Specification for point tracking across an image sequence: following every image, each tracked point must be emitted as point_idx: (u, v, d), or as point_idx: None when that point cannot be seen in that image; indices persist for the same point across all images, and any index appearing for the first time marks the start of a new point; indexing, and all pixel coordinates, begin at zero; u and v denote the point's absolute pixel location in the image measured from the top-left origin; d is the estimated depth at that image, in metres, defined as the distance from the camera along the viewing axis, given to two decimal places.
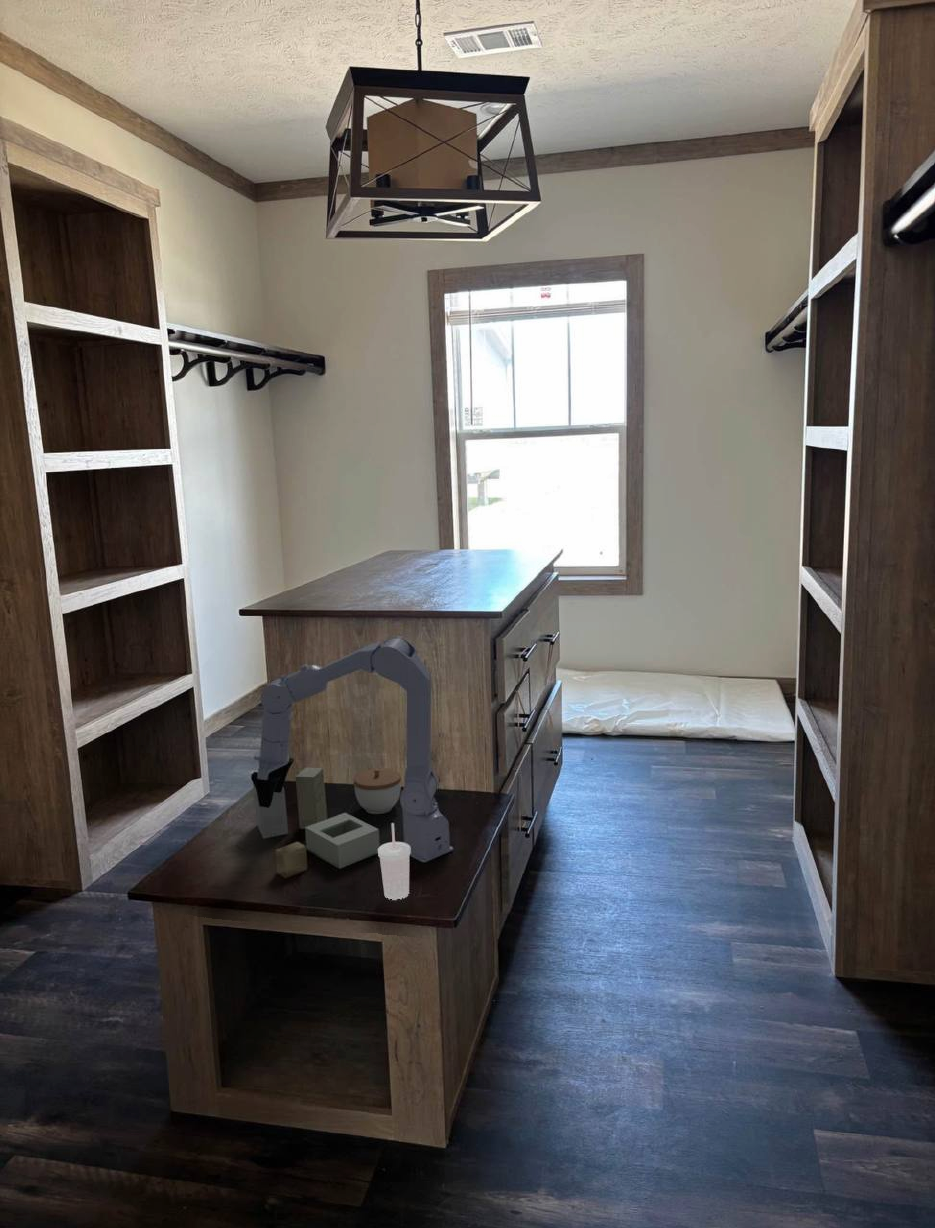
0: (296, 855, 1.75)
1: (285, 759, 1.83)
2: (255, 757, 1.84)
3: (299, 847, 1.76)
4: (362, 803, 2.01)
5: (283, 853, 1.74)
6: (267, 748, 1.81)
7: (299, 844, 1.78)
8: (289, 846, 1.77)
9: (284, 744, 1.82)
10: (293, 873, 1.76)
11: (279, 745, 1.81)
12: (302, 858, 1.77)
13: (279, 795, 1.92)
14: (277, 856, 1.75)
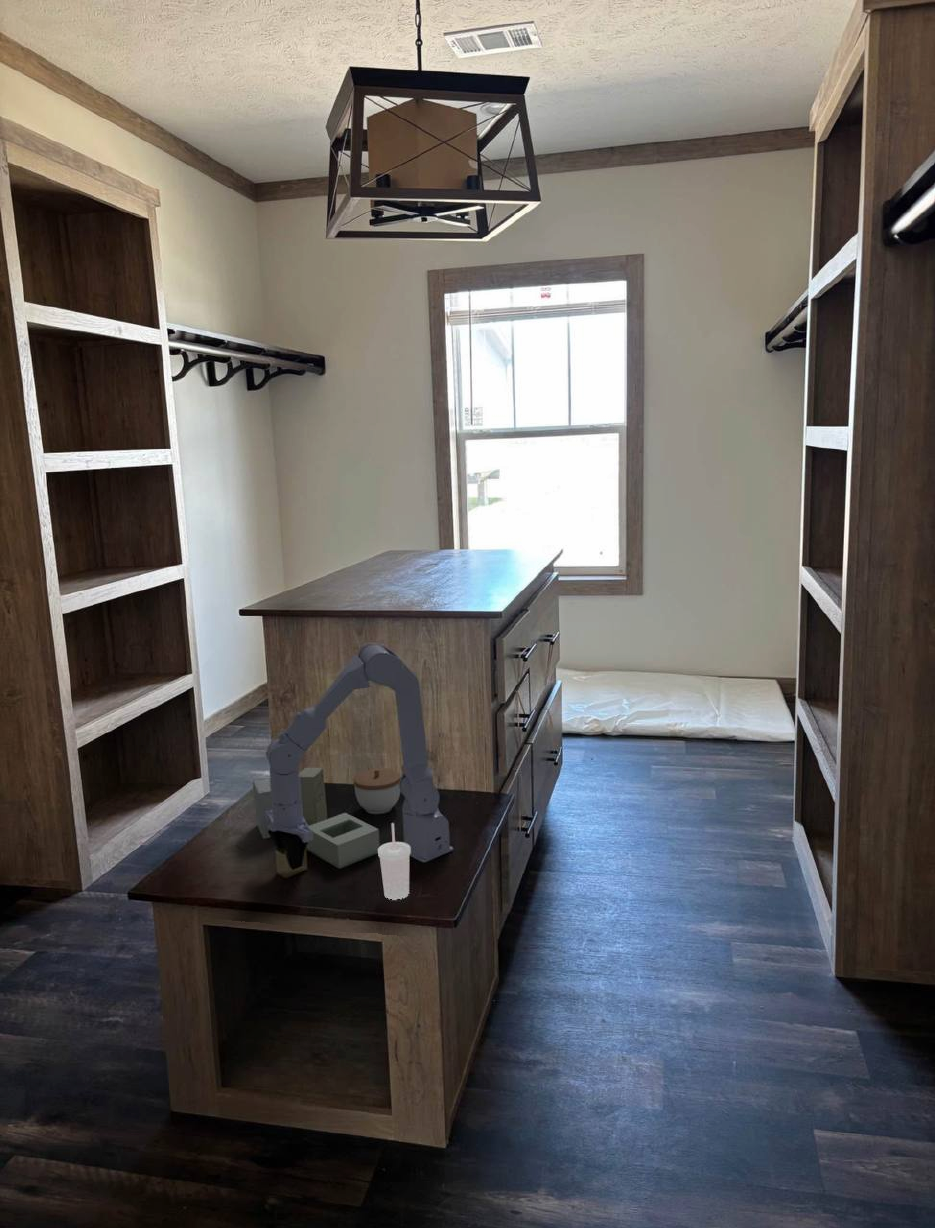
0: None
1: None
2: (274, 829, 1.72)
3: None
4: (362, 803, 2.01)
5: (282, 853, 1.74)
6: (291, 811, 1.72)
7: None
8: None
9: (301, 801, 1.75)
10: (293, 873, 1.76)
11: (300, 803, 1.74)
12: None
13: None
14: (277, 856, 1.75)
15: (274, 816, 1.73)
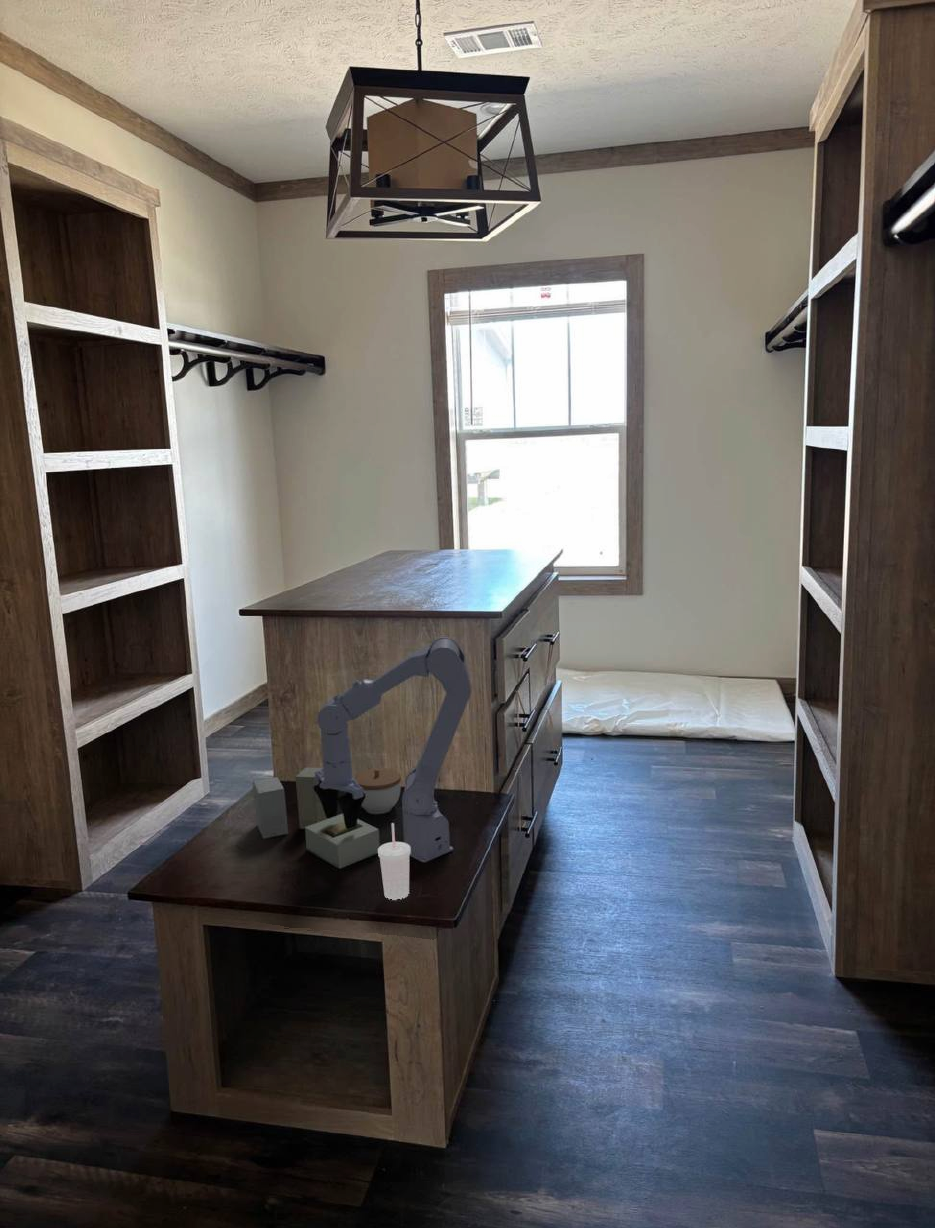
0: None
1: None
2: (326, 786, 1.79)
3: None
4: (362, 803, 2.01)
5: (333, 832, 1.81)
6: (341, 770, 1.79)
7: None
8: (338, 825, 1.84)
9: None
10: None
11: (350, 762, 1.80)
12: None
13: (279, 795, 1.92)
14: (327, 834, 1.83)
15: (325, 774, 1.80)
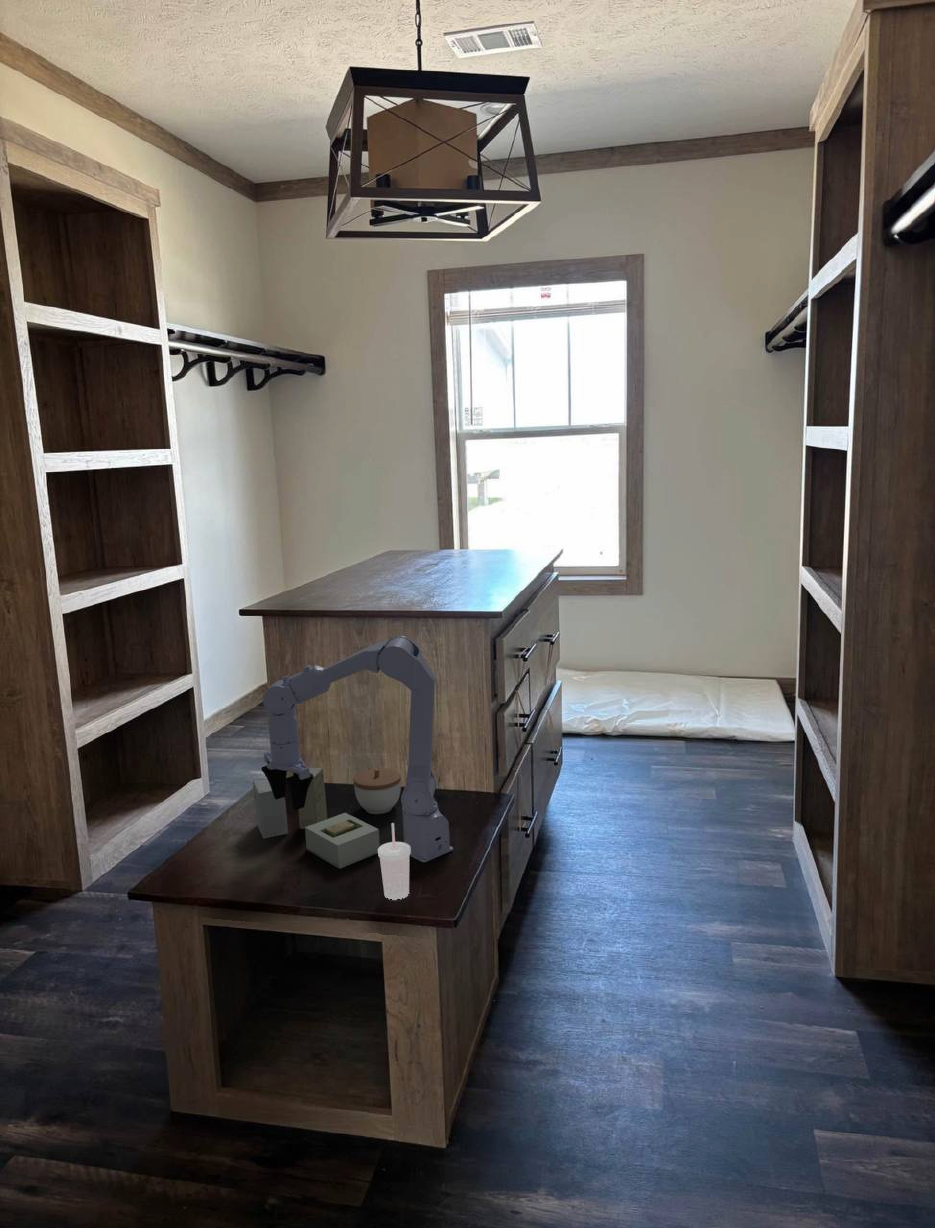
0: None
1: None
2: (273, 767, 1.79)
3: (348, 825, 1.84)
4: (362, 803, 2.01)
5: (333, 832, 1.81)
6: (288, 750, 1.79)
7: (347, 823, 1.85)
8: (338, 825, 1.84)
9: (298, 741, 1.82)
10: None
11: (297, 743, 1.81)
12: None
13: None
14: (327, 834, 1.83)
15: (272, 755, 1.80)
